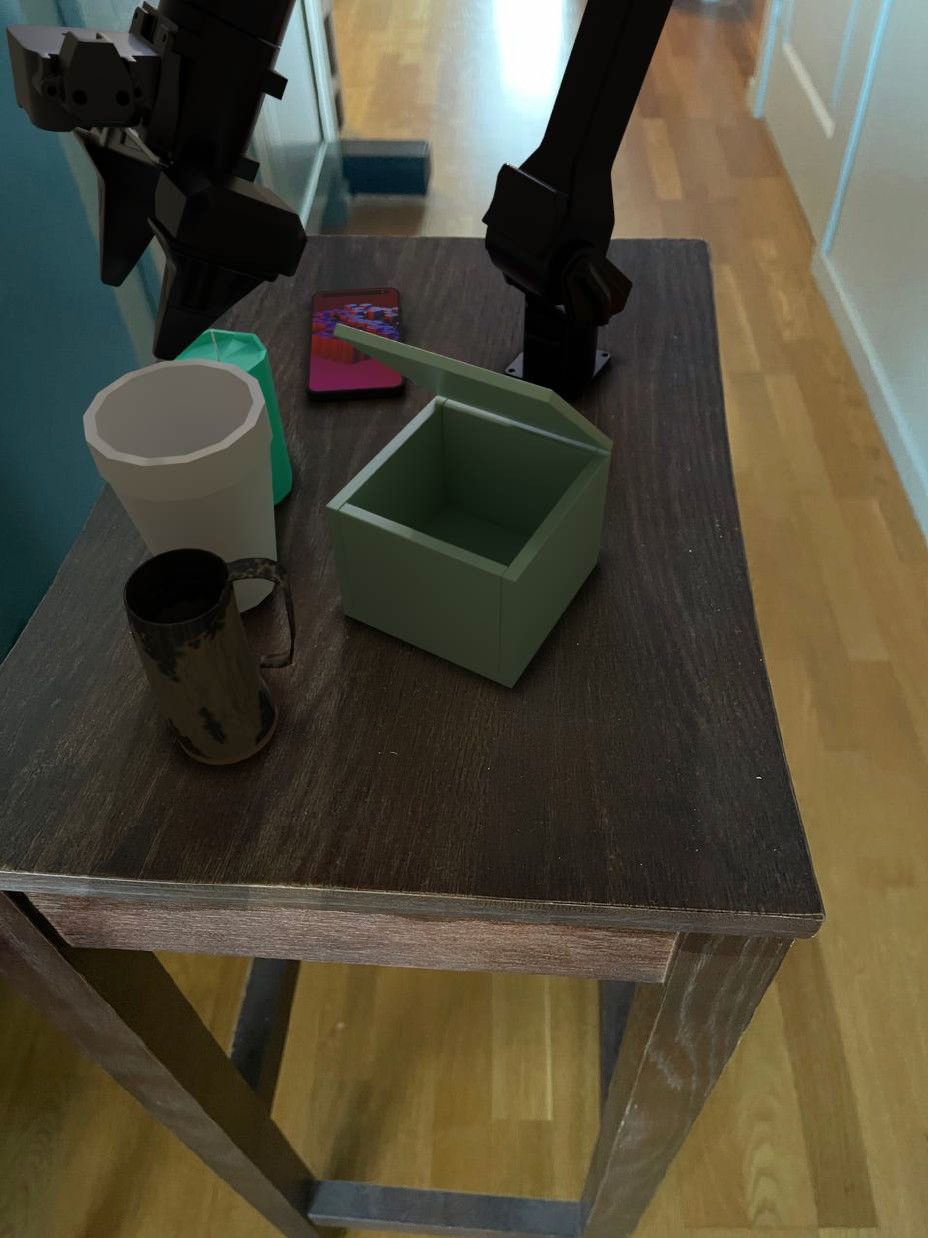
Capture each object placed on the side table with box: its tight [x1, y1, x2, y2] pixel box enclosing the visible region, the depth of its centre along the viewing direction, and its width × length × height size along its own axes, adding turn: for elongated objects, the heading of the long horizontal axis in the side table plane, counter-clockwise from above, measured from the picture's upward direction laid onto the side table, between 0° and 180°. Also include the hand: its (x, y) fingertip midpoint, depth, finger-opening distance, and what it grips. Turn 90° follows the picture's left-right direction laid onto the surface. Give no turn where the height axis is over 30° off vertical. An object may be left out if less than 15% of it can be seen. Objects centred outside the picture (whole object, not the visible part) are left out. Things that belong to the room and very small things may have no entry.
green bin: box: [325, 395, 612, 689], centre depth 54 cm, size 12×12×9 cm
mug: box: [122, 548, 297, 766], centre depth 46 cm, size 8×6×12 cm
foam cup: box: [82, 358, 278, 614], centre depth 53 cm, size 10×9×13 cm
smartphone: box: [305, 286, 406, 401], centre depth 75 cm, size 8×1×15 cm
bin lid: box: [333, 323, 614, 452], centre depth 48 cm, size 12×12×1 cm
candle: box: [173, 328, 293, 506], centre depth 60 cm, size 6×6×12 cm
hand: (134, 319), depth 51 cm, fingers open, 9 cm apart
